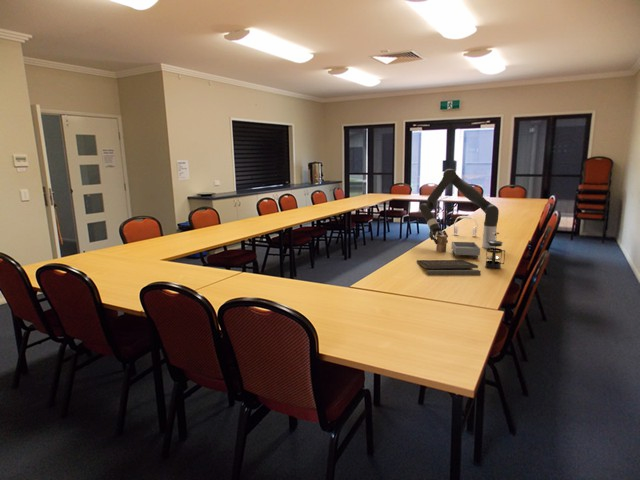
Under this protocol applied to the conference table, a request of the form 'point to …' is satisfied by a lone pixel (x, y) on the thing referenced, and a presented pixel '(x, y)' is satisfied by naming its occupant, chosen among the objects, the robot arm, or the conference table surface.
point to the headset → (467, 218)
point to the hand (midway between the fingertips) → (442, 243)
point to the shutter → (449, 265)
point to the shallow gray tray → (465, 249)
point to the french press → (494, 254)
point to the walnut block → (441, 243)
